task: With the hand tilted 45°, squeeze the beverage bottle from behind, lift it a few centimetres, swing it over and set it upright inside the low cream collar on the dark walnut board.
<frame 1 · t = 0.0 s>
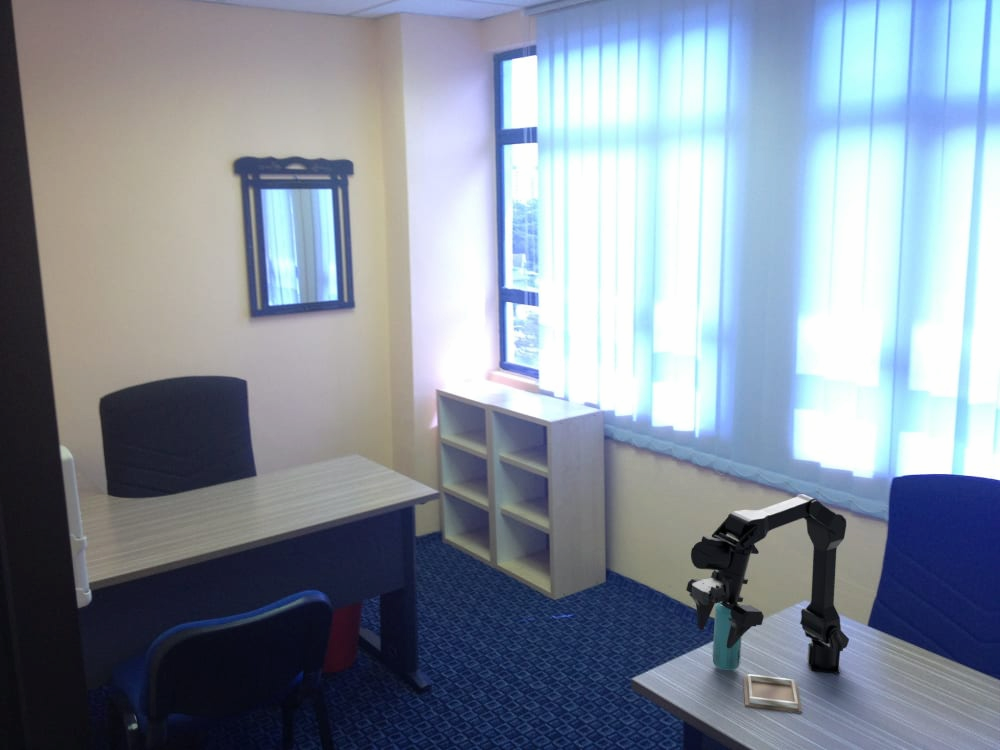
hand: (714, 638, 197), 15 cm above the table, tool pointing down, fingers open, 9 cm apart
beverage bottle: (725, 669, 215), on the table
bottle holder: (771, 694, 204), on the table
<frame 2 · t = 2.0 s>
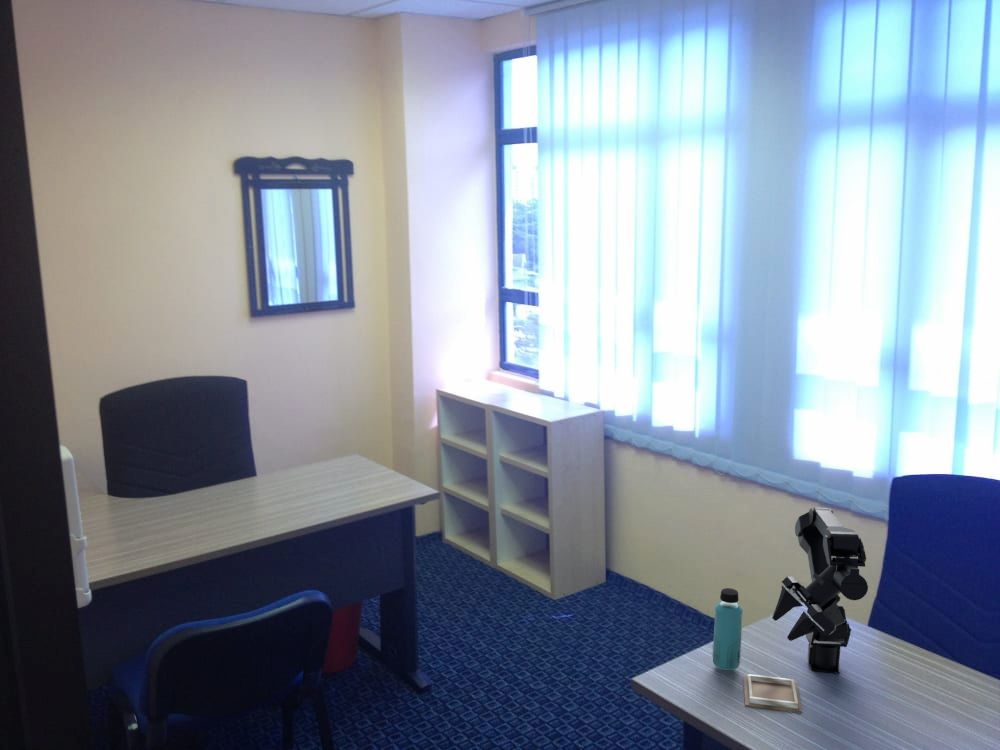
hand: (781, 629, 206), 13 cm above the table, tool tilted 45°, fingers open, 9 cm apart
nothing on the table moved.
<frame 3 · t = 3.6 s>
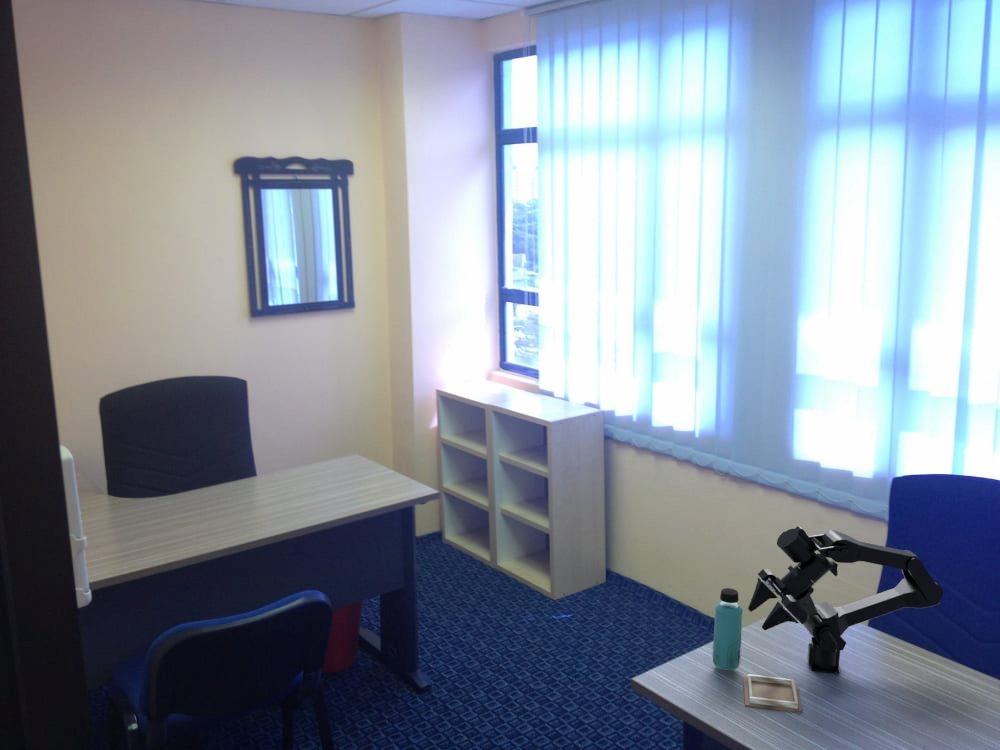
hand: (756, 619, 212), 13 cm above the table, tool tilted 45°, fingers open, 9 cm apart
nothing on the table moved.
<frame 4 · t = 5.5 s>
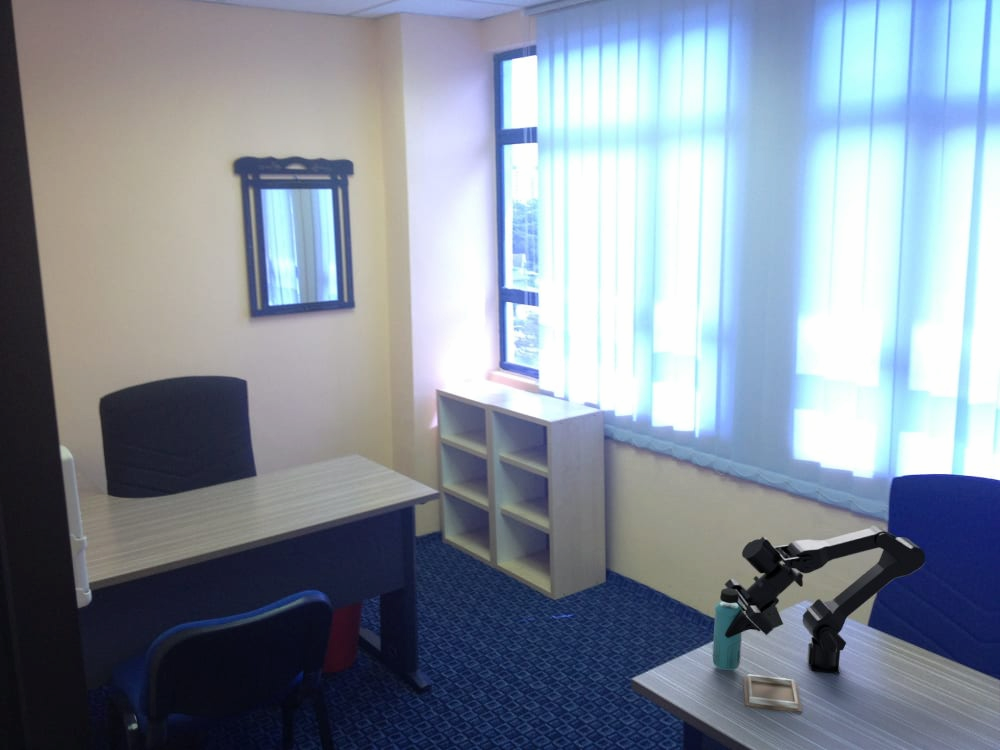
hand: (721, 629, 212), 10 cm above the table, tool tilted 45°, fingers closed on beverage bottle, 6 cm apart
beverage bottle: (725, 669, 215), on the table, touching gripper
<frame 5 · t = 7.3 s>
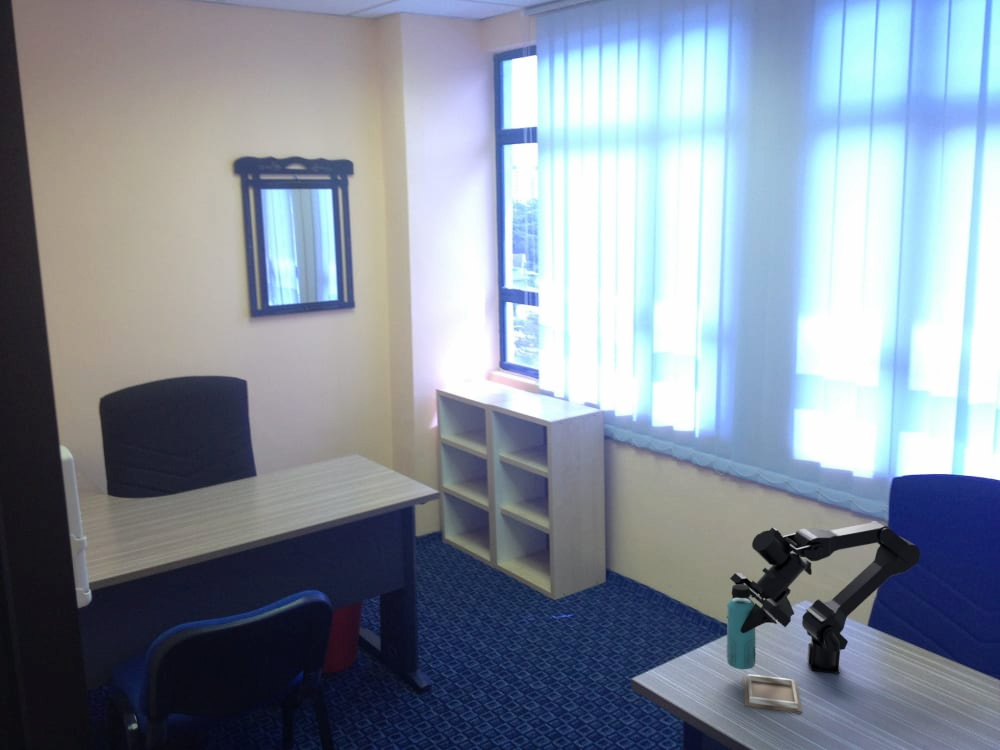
hand: (734, 625, 208), 13 cm above the table, tool tilted 45°, fingers closed on beverage bottle, 6 cm apart
beverage bottle: (740, 670, 209), point 3 cm above the table, touching gripper
when the fingers open (12 cm above the table, at t = 8.9 s): beverage bottle stays where it is, resting on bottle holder.
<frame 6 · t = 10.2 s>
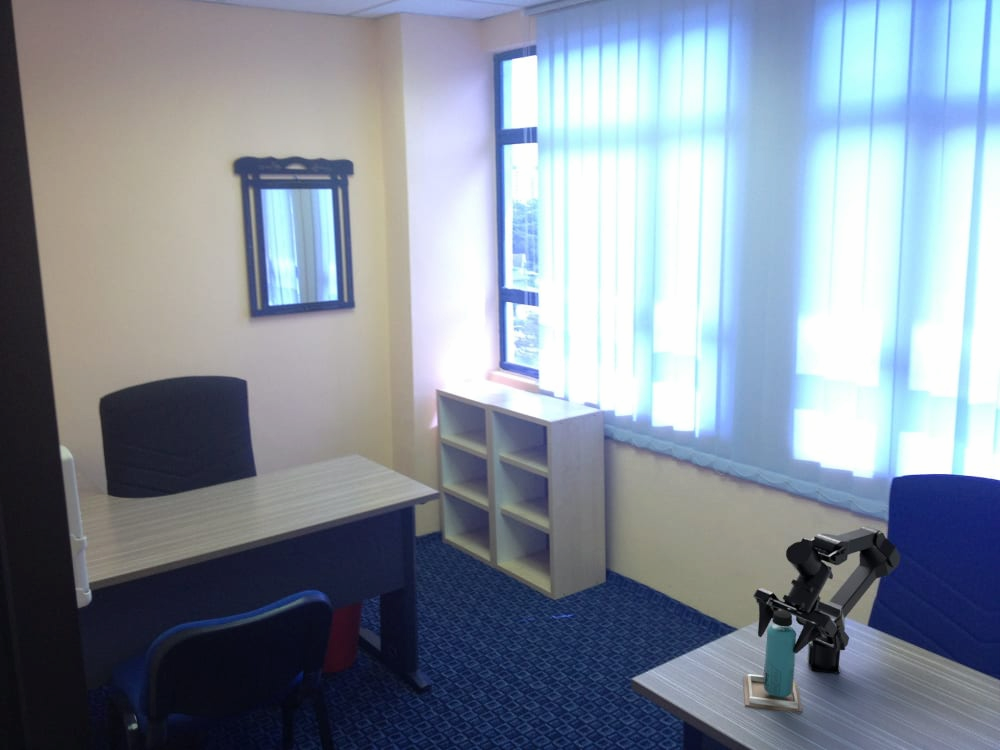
hand: (776, 644, 201), 12 cm above the table, tool tilted 45°, fingers open, 9 cm apart
beverage bottle: (777, 696, 203), resting on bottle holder, touching gripper
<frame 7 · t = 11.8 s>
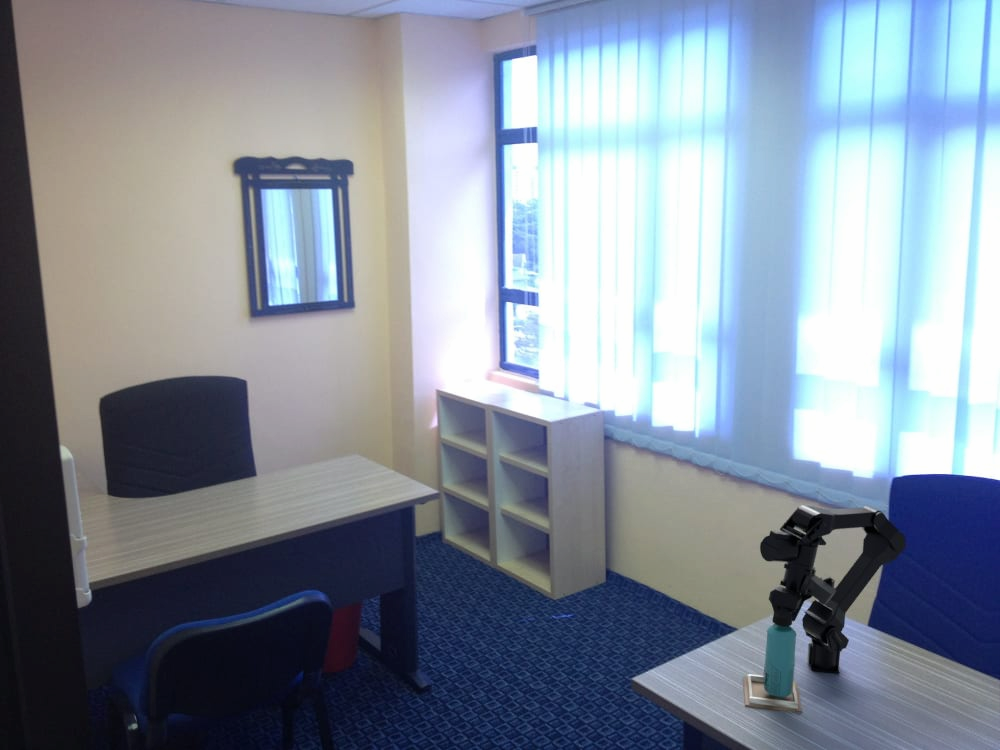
hand: (786, 625, 209), 13 cm above the table, tool pointing down, fingers open, 9 cm apart
beverage bottle: (777, 696, 203), resting on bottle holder
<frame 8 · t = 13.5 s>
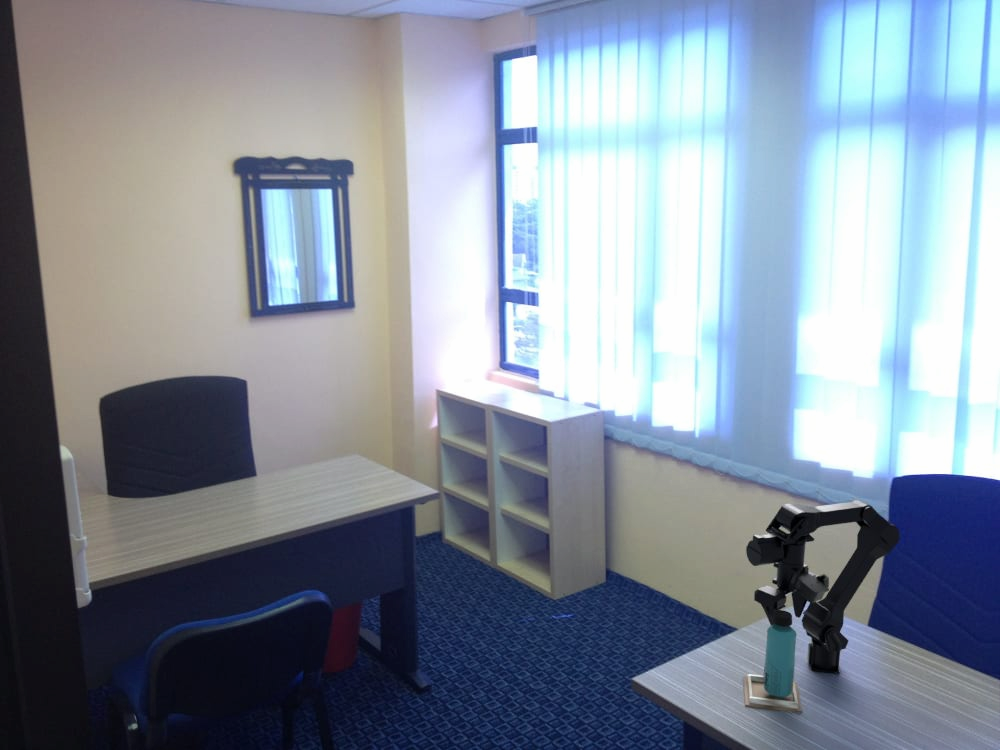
hand: (786, 622, 210), 13 cm above the table, tool pointing down, fingers open, 9 cm apart
nothing on the table moved.
at the end: beverage bottle 1.3 cm from the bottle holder (horizontally); beverage bottle tilted 0°; the gripper is holding nothing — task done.
